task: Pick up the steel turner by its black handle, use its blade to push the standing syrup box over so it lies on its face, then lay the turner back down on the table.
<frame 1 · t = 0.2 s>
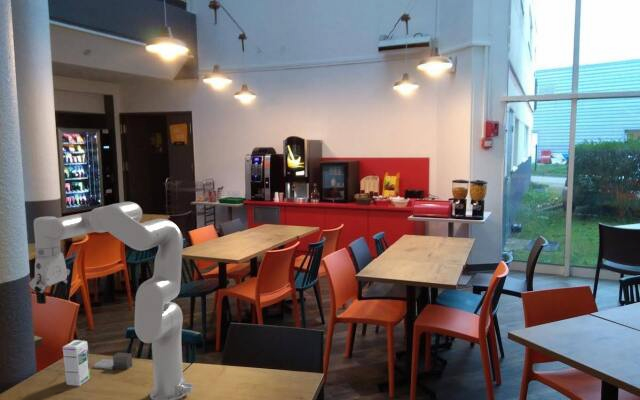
hand: (52, 298, 165), 31 cm above the table, tool pointing down, fingers open, 9 cm apart
turner: (114, 366, 179), on the table
syrup box: (78, 382, 168), on the table
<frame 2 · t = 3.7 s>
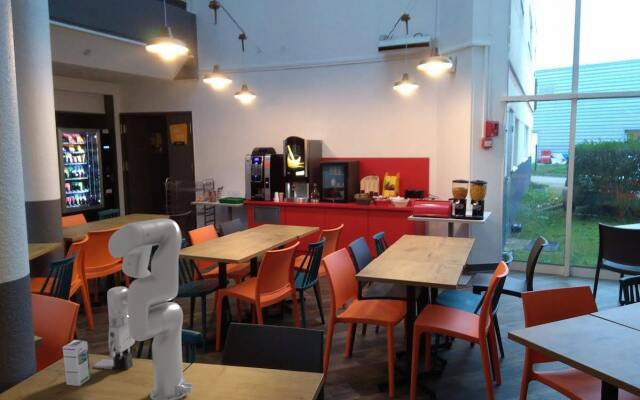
hand: (123, 365, 178), 1 cm above the table, tool pointing down, fingers closed on turner, 2 cm apart
turner: (114, 366, 179), on the table, touching gripper
everything else where it was.
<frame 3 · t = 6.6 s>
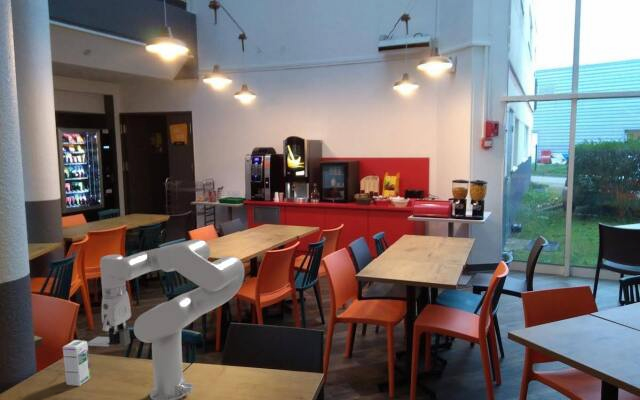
hand: (117, 341, 162), 17 cm above the table, tool pointing down, fingers closed on turner, 3 cm apart
turner: (110, 343, 163), point 16 cm above the table, touching gripper
everything else where it was.
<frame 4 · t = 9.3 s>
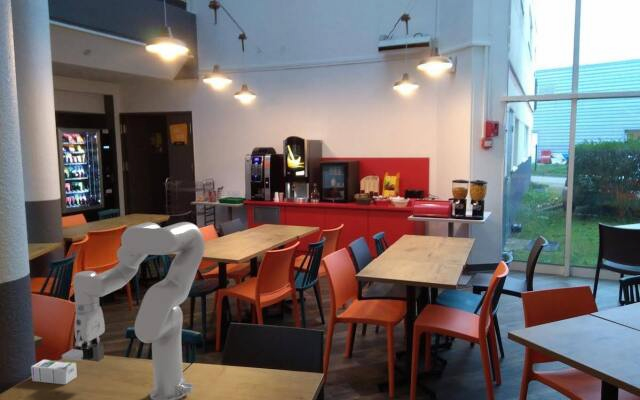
hand: (91, 355, 165), 10 cm above the table, tool pointing down, fingers closed on turner, 3 cm apart
turner: (84, 357, 166), point 9 cm above the table, touching gripper
syrup box: (71, 373, 168), point 3 cm above the table
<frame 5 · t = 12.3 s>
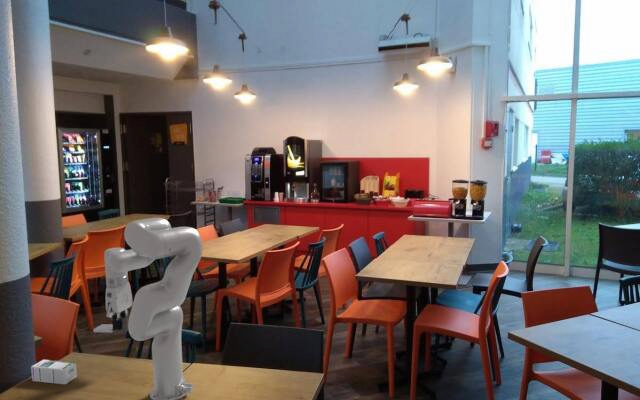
hand: (120, 327, 176), 16 cm above the table, tool pointing down, fingers closed on turner, 3 cm apart
turner: (114, 329, 177), point 15 cm above the table, touching gripper
everything else where it was.
when the fingers open (2 cm above the table, at t = 14.9 s): turner stays where it is, on the table.
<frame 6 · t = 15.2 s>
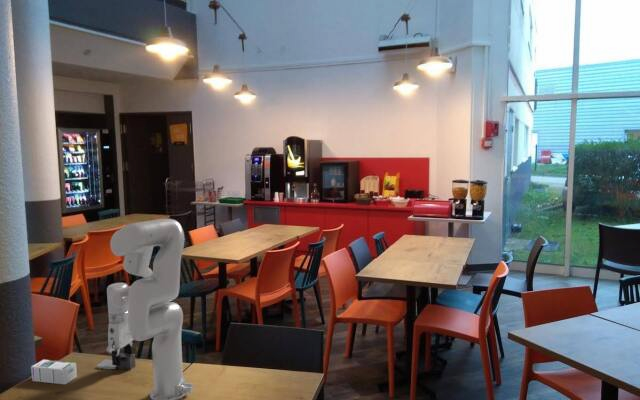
hand: (122, 360, 178), 3 cm above the table, tool pointing down, fingers open, 6 cm apart
turner: (117, 366, 179), on the table
everything else where it was.
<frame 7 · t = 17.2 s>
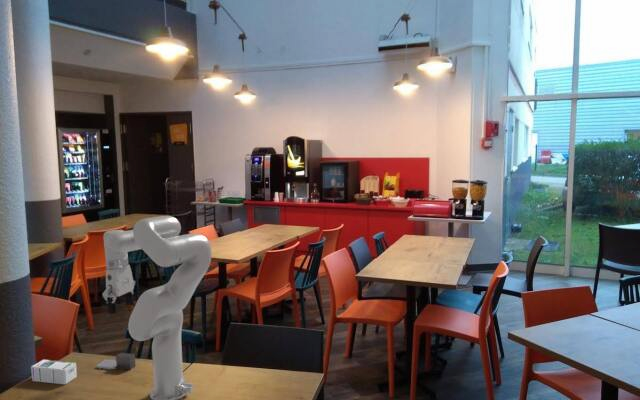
hand: (121, 308, 172), 24 cm above the table, tool pointing down, fingers open, 9 cm apart
nothing on the table moved.
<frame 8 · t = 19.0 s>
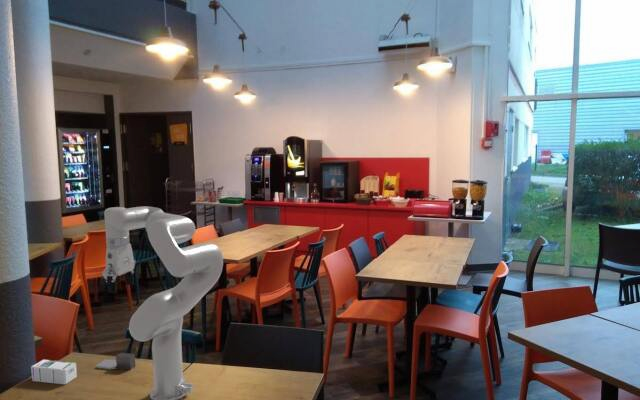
hand: (121, 288, 167), 33 cm above the table, tool pointing down, fingers open, 9 cm apart
nothing on the table moved.
at the end: syrup box tilted 89°; syrup box inside the target area (6.9 cm from its centre), point 2.7 cm above the table; the gripper is holding nothing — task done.
